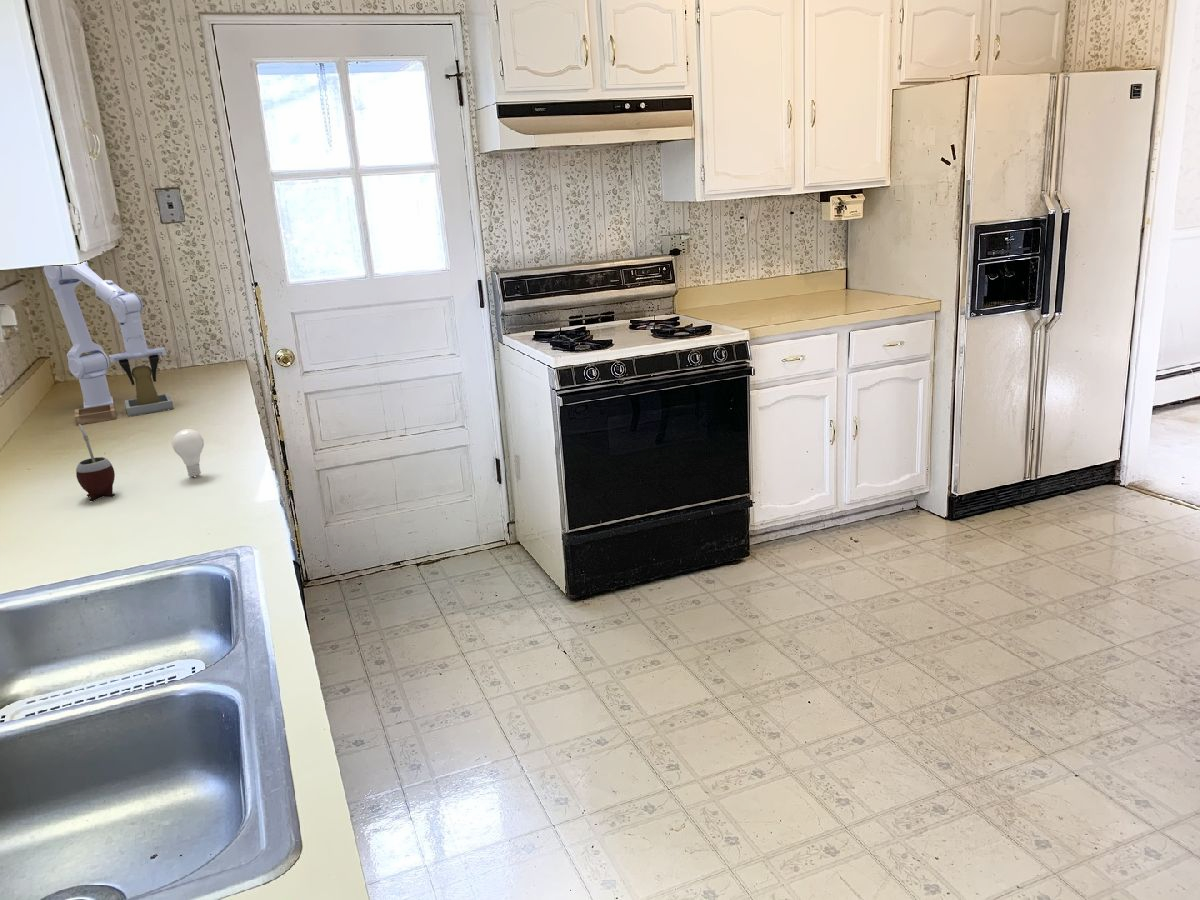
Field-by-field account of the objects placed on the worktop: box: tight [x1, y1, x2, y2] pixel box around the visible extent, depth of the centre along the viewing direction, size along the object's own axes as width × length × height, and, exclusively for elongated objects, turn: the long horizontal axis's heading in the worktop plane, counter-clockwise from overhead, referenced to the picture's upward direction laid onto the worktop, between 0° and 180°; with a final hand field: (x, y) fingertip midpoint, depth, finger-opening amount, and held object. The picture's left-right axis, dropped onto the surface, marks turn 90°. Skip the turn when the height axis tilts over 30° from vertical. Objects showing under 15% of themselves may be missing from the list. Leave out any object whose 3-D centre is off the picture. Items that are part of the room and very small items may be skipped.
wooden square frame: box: [74, 403, 117, 426], centre depth 259 cm, size 10×10×2 cm
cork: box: [131, 365, 160, 406], centre depth 264 cm, size 6×6×11 cm
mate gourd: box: [75, 424, 116, 502], centre depth 192 cm, size 8×8×15 cm
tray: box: [124, 392, 174, 417], centre depth 267 cm, size 12×12×2 cm
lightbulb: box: [171, 428, 205, 478], centre depth 201 cm, size 6×6×11 cm
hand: (144, 382), depth 264 cm, fingers closed on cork, 5 cm apart
